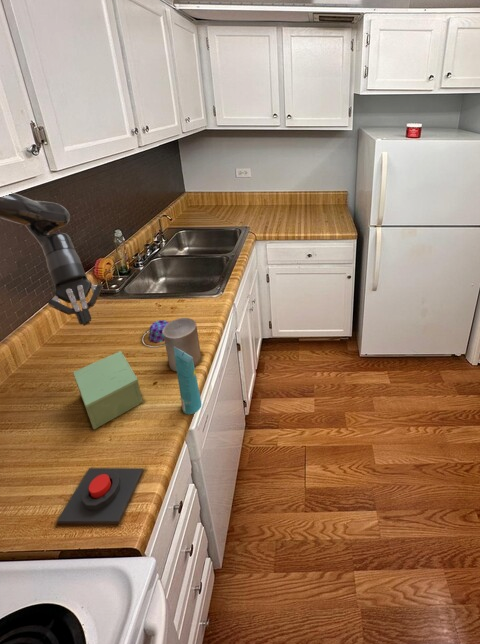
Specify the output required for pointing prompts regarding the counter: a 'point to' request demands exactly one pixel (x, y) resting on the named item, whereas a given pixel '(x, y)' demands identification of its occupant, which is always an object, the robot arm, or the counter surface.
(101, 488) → the button
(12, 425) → the counter surface
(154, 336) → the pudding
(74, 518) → the button block
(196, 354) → the pillar candle
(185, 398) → the tube
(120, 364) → the lid
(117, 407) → the breadbin
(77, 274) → the robot arm
